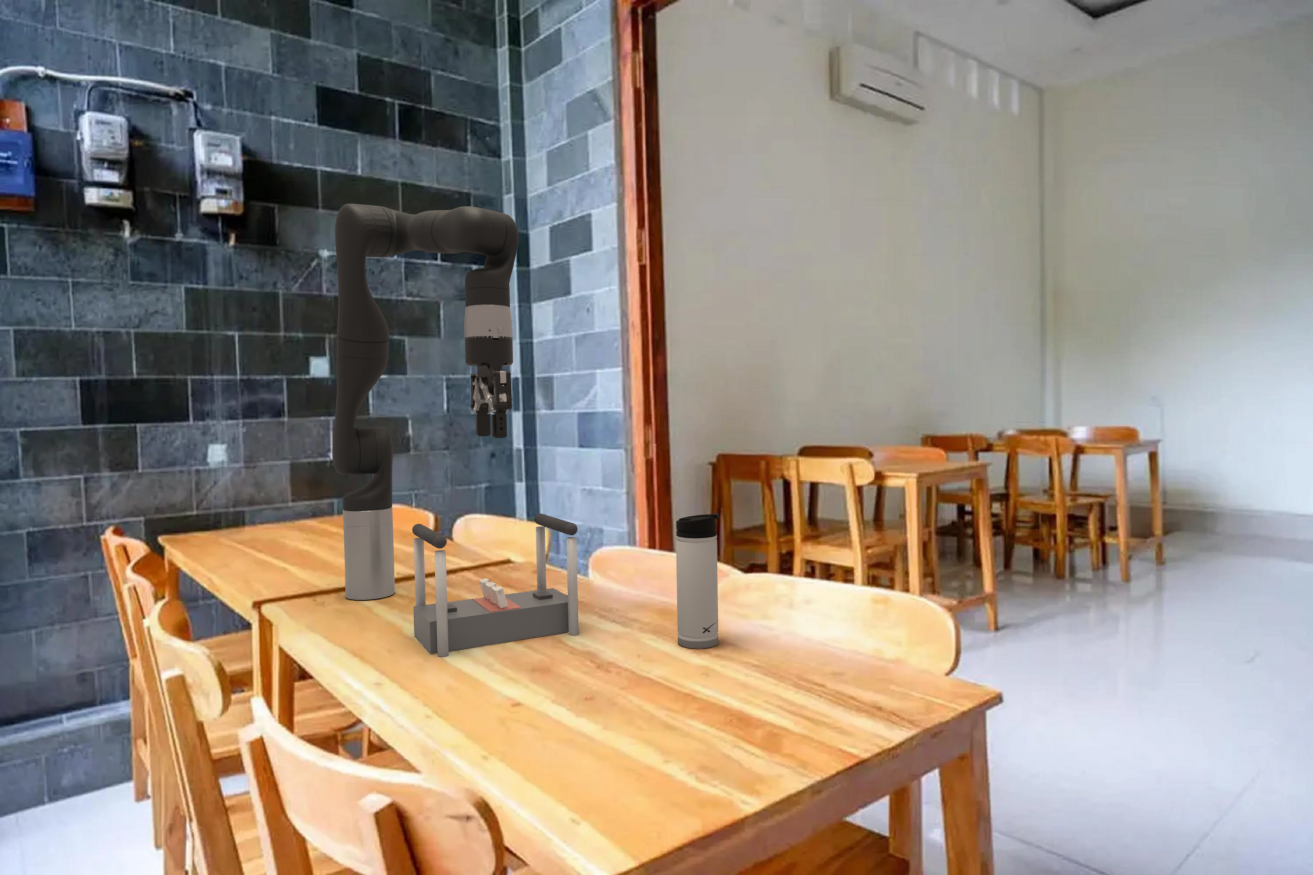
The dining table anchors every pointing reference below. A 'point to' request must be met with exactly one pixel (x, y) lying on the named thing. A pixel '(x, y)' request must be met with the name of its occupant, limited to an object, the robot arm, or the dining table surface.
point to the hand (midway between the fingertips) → (491, 437)
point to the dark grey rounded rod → (429, 536)
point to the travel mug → (697, 581)
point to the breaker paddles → (493, 593)
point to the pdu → (493, 607)
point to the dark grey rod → (556, 524)
